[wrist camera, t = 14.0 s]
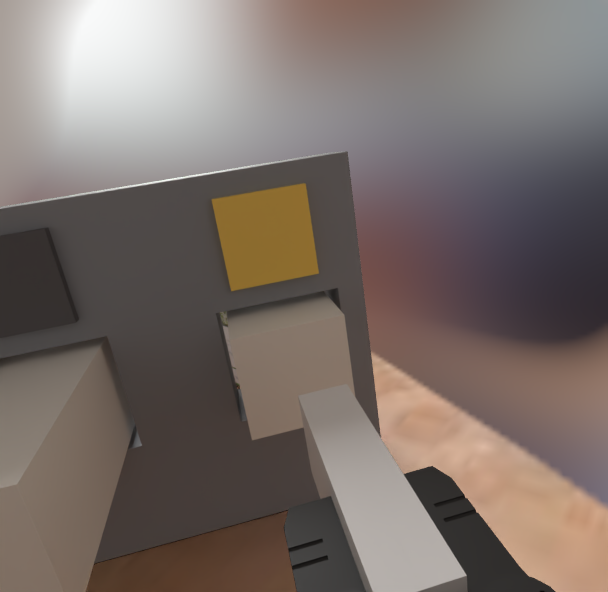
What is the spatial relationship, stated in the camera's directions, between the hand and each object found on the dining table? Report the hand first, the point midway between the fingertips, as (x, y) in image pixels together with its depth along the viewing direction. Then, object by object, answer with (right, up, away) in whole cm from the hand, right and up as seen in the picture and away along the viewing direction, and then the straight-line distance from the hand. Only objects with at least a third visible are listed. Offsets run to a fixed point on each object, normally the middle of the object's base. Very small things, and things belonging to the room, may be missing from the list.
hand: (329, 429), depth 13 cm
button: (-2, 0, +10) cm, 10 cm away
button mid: (-10, -3, +3) cm, 11 cm away
